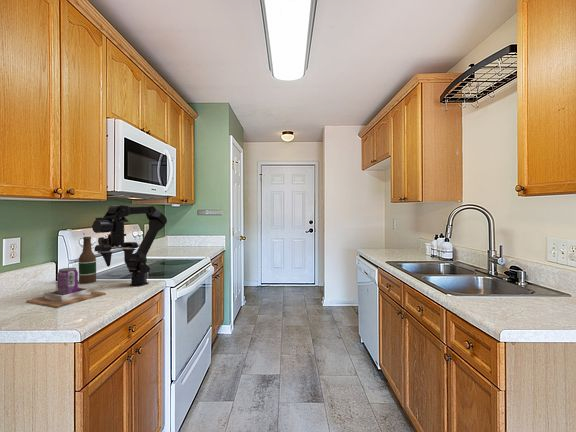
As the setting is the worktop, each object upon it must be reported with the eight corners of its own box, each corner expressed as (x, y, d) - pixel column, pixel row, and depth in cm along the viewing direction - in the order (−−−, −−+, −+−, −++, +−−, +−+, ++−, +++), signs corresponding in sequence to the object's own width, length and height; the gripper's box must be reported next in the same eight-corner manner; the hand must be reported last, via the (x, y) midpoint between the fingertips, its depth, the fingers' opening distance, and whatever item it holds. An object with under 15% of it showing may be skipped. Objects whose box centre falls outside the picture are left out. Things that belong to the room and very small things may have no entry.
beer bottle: (85, 284, 154) (84, 237, 153) (75, 283, 157) (74, 237, 156) (99, 281, 161) (99, 236, 161) (89, 280, 164) (89, 235, 163)
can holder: (76, 290, 143) (76, 283, 143) (105, 294, 135) (105, 287, 135) (26, 302, 124) (26, 295, 124) (57, 307, 117) (57, 300, 117)
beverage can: (80, 294, 133) (80, 267, 133) (74, 298, 126) (73, 270, 126) (62, 295, 131) (61, 267, 131) (54, 300, 124) (53, 270, 124)
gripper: (122, 230, 153) (122, 261, 153) (86, 232, 136) (86, 267, 136) (138, 231, 149) (138, 262, 149) (103, 233, 132) (103, 268, 132)
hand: (117, 265), depth 142 cm, fingers open, 9 cm apart
